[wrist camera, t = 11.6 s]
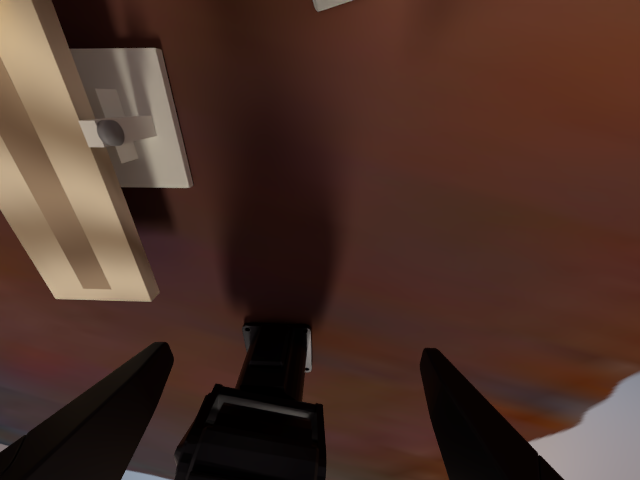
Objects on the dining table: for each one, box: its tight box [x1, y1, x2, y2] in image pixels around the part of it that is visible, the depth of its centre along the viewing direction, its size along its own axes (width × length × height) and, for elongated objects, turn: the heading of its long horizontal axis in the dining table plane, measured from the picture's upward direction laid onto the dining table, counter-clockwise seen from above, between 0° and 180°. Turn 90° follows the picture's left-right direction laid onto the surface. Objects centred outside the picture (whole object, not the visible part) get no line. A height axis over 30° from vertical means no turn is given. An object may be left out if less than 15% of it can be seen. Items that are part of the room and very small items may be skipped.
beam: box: [0, 0, 160, 302], centre depth 14 cm, size 22×7×1 cm, turn 0°
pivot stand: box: [70, 48, 193, 188], centre depth 15 cm, size 8×12×5 cm, turn 90°
